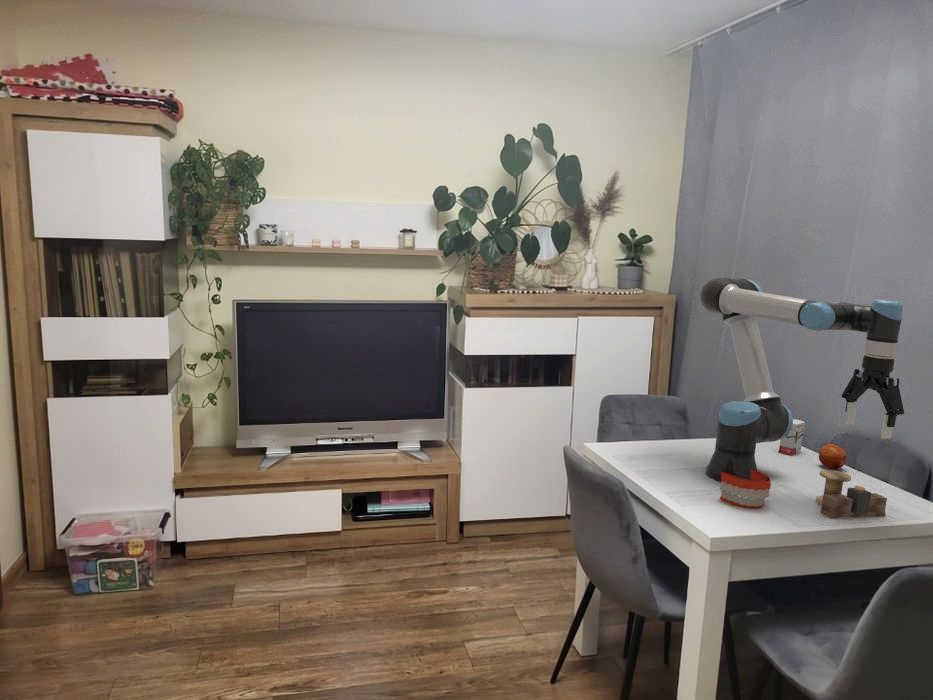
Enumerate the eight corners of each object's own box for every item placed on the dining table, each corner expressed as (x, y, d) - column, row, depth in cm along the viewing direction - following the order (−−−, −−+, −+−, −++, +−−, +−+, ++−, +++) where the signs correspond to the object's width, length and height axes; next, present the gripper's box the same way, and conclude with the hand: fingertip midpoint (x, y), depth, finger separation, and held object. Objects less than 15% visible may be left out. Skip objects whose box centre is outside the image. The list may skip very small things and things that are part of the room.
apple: (831, 464, 246) (834, 441, 245) (850, 471, 238) (854, 448, 237) (812, 464, 244) (815, 441, 242) (831, 472, 236) (834, 449, 234)
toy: (744, 512, 192) (748, 484, 191) (716, 499, 201) (720, 471, 200) (778, 508, 197) (782, 480, 196) (749, 495, 206) (753, 469, 205)
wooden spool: (829, 509, 199) (834, 479, 198) (809, 499, 207) (813, 470, 205) (853, 508, 201) (857, 478, 200) (832, 498, 209) (836, 469, 207)
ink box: (792, 456, 253) (796, 423, 251) (778, 452, 256) (782, 420, 254) (801, 452, 259) (805, 420, 257) (787, 449, 262) (791, 417, 260)
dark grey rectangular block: (867, 513, 194) (871, 489, 193) (855, 514, 193) (859, 490, 192) (856, 508, 198) (860, 484, 197) (844, 508, 197) (848, 485, 196)
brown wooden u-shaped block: (830, 518, 192) (833, 499, 191) (820, 512, 196) (822, 494, 195) (884, 516, 197) (887, 498, 196) (873, 510, 200) (876, 493, 200)
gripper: (928, 365, 185) (914, 444, 188) (857, 349, 209) (846, 419, 212) (904, 364, 183) (890, 443, 186) (835, 348, 207) (824, 419, 211)
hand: (866, 431), depth 199 cm, fingers open, 13 cm apart
